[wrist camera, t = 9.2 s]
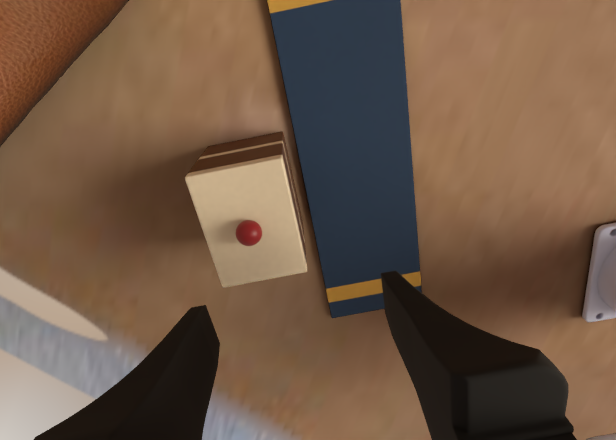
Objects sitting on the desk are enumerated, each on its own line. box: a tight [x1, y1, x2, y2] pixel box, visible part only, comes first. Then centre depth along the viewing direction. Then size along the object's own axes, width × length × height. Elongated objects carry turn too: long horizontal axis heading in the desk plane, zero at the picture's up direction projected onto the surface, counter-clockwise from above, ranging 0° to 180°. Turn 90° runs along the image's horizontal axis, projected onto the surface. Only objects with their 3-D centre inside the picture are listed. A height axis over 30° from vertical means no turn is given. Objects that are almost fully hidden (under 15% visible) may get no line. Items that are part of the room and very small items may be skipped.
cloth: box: [267, 0, 422, 318], centre depth 22 cm, size 6×22×1 cm, turn 11°
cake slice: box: [185, 132, 307, 288], centre depth 20 cm, size 4×6×7 cm
